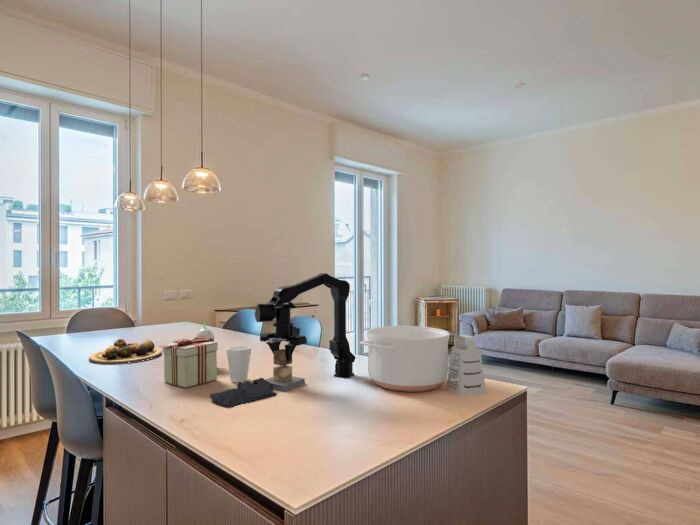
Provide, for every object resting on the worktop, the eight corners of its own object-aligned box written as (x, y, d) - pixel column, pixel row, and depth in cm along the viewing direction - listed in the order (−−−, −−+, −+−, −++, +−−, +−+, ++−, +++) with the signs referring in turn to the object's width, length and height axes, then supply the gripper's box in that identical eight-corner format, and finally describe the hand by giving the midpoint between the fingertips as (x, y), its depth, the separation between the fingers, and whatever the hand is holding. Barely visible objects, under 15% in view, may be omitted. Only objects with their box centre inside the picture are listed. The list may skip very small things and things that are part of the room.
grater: (460, 395, 154) (460, 339, 153) (446, 387, 164) (446, 334, 164) (486, 393, 156) (486, 337, 156) (470, 385, 166) (471, 333, 166)
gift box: (189, 373, 183) (189, 332, 183) (220, 379, 173) (220, 336, 173) (153, 383, 168) (153, 338, 168) (184, 390, 159) (184, 343, 159)
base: (304, 383, 168) (304, 378, 168) (285, 391, 157) (285, 386, 157) (280, 379, 174) (280, 374, 174) (260, 386, 163) (260, 381, 163)
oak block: (292, 379, 166) (292, 366, 166) (283, 382, 162) (283, 369, 162) (281, 377, 169) (281, 364, 169) (273, 380, 165) (273, 367, 165)
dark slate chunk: (203, 400, 149) (203, 386, 149) (256, 386, 165) (256, 374, 165) (227, 411, 138) (227, 396, 138) (281, 395, 155) (281, 382, 155)
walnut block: (292, 363, 166) (292, 350, 166) (283, 365, 162) (283, 352, 162) (282, 361, 169) (282, 348, 169) (273, 364, 165) (273, 351, 165)
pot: (408, 367, 194) (408, 322, 194) (471, 381, 172) (471, 330, 172) (340, 385, 165) (340, 332, 165) (406, 405, 143) (406, 344, 143)
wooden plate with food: (92, 354, 221) (92, 338, 221) (160, 348, 235) (160, 333, 235) (84, 369, 193) (84, 351, 192) (162, 361, 206) (162, 344, 206)
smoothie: (217, 365, 197) (217, 321, 197) (209, 369, 189) (209, 323, 189) (199, 364, 198) (199, 320, 198) (191, 369, 190) (191, 323, 190)
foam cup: (236, 385, 165) (236, 351, 165) (221, 381, 171) (221, 348, 171) (255, 379, 173) (255, 347, 173) (241, 376, 178) (241, 344, 178)
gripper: (315, 319, 168) (315, 359, 168) (277, 316, 177) (277, 354, 177) (297, 323, 158) (297, 365, 158) (259, 319, 168) (259, 359, 168)
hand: (283, 361), depth 166 cm, fingers closed on walnut block, 5 cm apart
